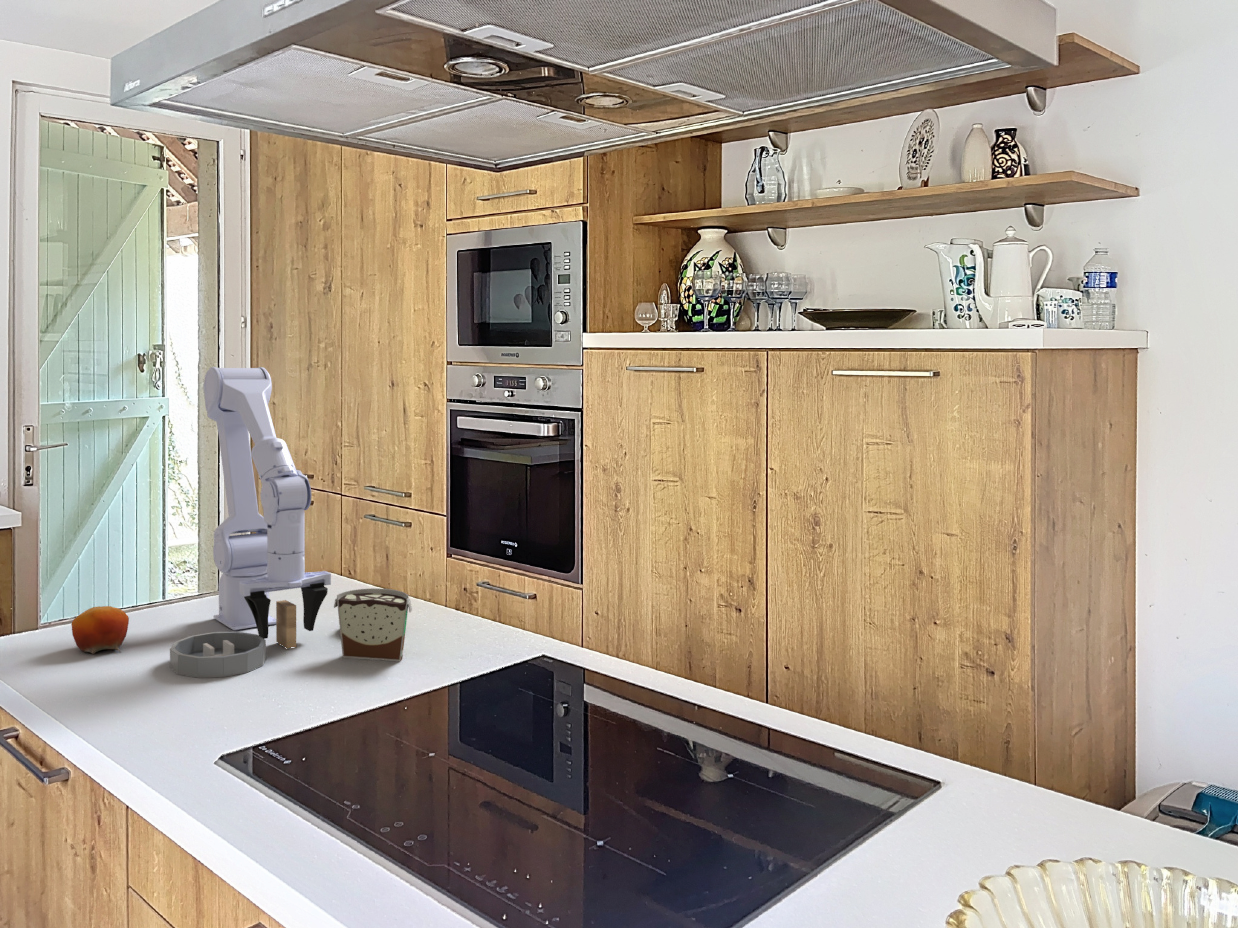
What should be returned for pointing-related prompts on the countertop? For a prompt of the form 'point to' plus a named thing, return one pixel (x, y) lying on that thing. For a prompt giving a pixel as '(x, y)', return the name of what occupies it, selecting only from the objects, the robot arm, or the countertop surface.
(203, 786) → the countertop surface
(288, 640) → the tan wooden beam
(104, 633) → the fruit
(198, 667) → the grey faceted hollow container
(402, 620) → the food container
